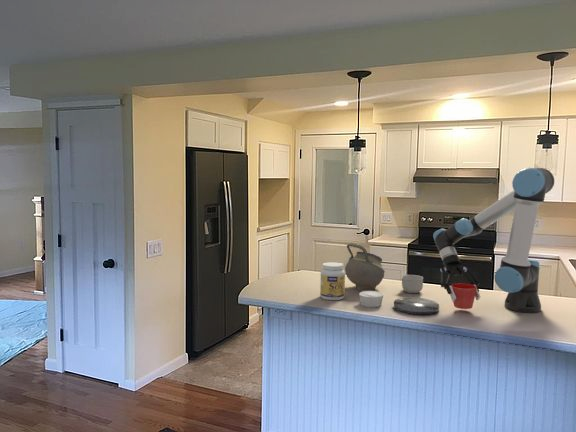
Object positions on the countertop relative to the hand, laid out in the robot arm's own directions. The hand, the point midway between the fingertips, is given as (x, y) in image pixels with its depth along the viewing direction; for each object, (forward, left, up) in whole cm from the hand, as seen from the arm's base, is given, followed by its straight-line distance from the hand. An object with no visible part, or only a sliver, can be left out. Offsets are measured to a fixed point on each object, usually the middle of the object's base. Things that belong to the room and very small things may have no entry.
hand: (466, 299), depth 208 cm
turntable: (+18, +11, -6) cm, 22 cm away
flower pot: (+2, -2, -4) cm, 5 cm away
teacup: (+37, -14, -6) cm, 40 cm away
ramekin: (+36, +21, -7) cm, 43 cm away
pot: (+56, +1, -6) cm, 57 cm away
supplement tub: (+56, +26, -6) cm, 62 cm away
